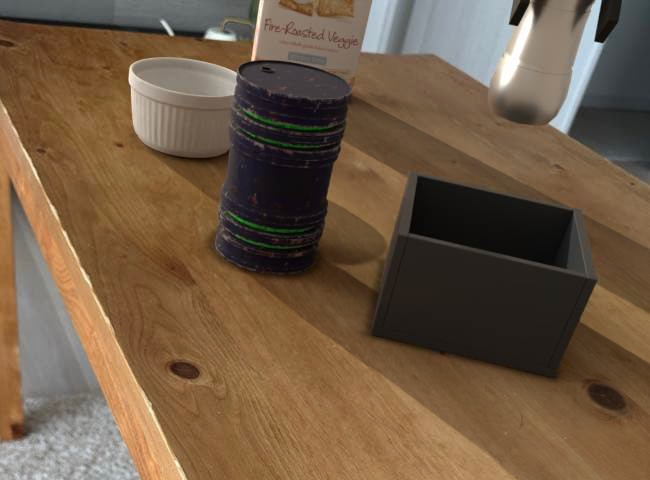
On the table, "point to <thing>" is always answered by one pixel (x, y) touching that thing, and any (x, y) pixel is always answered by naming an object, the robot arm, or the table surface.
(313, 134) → the storage jar
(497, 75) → the silver metal bottle
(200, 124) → the ramekin
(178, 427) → the table surface
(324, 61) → the cracker box
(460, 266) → the bin
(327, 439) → the table surface
